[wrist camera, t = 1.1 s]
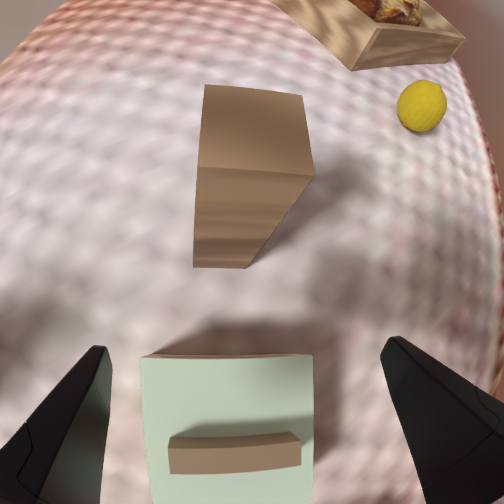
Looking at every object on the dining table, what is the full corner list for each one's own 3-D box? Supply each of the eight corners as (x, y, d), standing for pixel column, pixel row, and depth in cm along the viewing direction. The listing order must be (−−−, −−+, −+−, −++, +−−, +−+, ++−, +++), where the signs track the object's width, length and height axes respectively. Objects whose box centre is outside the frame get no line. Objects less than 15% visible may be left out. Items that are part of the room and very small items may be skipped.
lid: (307, 503, 15) (323, 521, 13) (156, 513, 13) (152, 535, 11) (307, 354, 18) (326, 355, 16) (142, 356, 16) (133, 359, 14)
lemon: (409, 149, 31) (449, 110, 24) (378, 114, 32) (412, 71, 24) (427, 135, 33) (463, 100, 26) (398, 103, 34) (430, 65, 26)
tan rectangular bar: (245, 268, 24) (314, 175, 10) (192, 267, 23) (197, 166, 10) (244, 219, 25) (301, 95, 12) (194, 217, 24) (205, 84, 11)
